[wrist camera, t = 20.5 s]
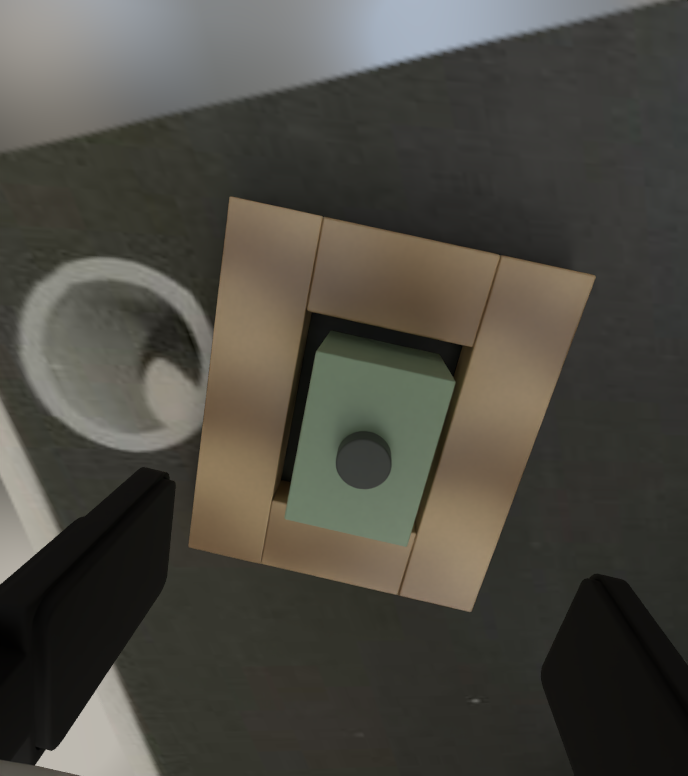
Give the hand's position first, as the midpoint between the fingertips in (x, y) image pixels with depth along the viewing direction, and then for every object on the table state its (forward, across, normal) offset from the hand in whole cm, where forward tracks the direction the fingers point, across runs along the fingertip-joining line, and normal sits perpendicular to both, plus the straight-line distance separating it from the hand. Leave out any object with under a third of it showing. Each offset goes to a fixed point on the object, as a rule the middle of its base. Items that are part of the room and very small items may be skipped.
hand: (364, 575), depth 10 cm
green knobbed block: (+11, 0, 0) cm, 11 cm away
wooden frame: (+11, 0, 0) cm, 11 cm away
